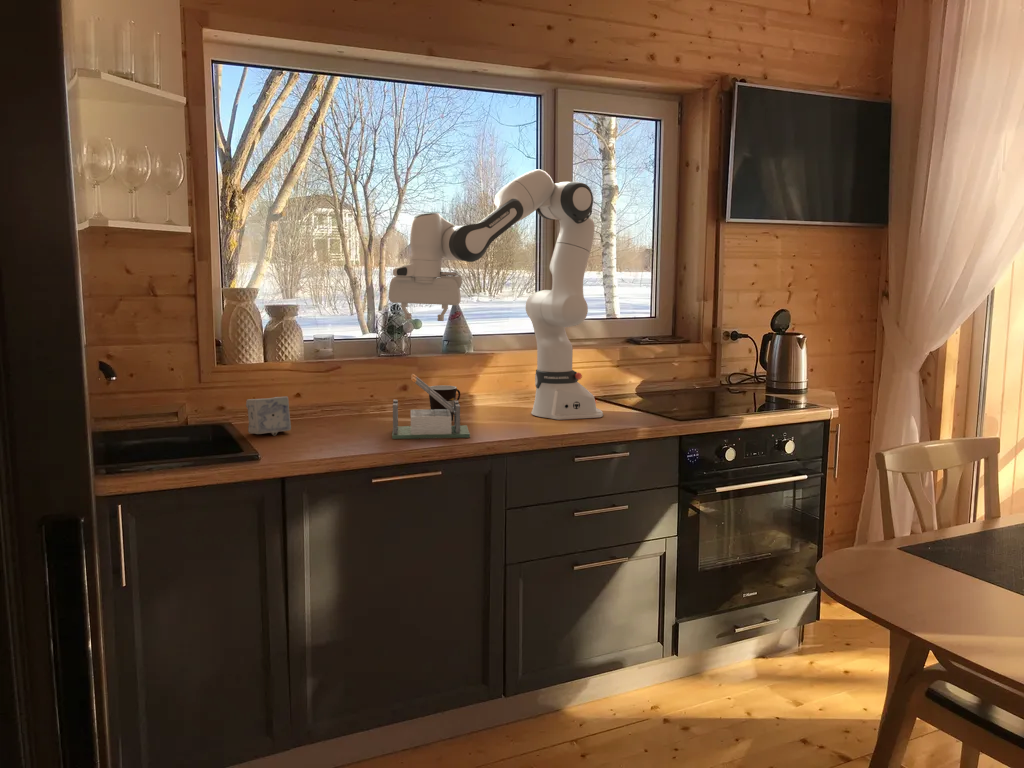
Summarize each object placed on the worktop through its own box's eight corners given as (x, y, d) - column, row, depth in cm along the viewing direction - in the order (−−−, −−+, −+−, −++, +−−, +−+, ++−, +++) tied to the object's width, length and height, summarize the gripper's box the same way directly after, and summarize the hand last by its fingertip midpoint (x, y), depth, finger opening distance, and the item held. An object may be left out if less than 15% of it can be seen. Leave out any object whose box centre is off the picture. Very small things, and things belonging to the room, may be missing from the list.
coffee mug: (434, 423, 241) (434, 390, 239) (424, 418, 248) (423, 386, 247) (470, 420, 246) (470, 388, 244) (459, 415, 253) (459, 384, 252)
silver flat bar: (450, 406, 231) (451, 404, 231) (450, 408, 228) (452, 406, 228) (411, 375, 228) (413, 373, 228) (411, 377, 225) (413, 374, 225)
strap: (451, 410, 225) (453, 408, 225) (451, 412, 222) (453, 410, 222) (411, 378, 222) (413, 376, 222) (411, 380, 219) (413, 377, 219)
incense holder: (280, 429, 231) (279, 393, 230) (292, 434, 225) (290, 397, 223) (246, 433, 225) (244, 396, 224) (257, 438, 219) (255, 400, 217)
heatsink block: (466, 428, 234) (466, 397, 233) (469, 437, 222) (469, 405, 221) (393, 429, 231) (392, 398, 230) (392, 438, 220) (391, 406, 218)
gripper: (463, 272, 230) (462, 321, 232) (393, 269, 232) (392, 318, 234) (459, 272, 224) (458, 322, 226) (387, 269, 226) (386, 319, 228)
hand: (424, 320), depth 230 cm, fingers open, 8 cm apart
